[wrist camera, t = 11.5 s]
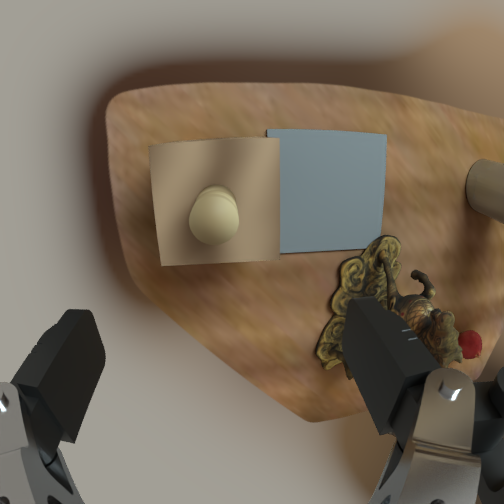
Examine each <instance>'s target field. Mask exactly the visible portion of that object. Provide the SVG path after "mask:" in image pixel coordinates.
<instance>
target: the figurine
mask: <svg viewBox="0 0 504 504" xmlns="http://www.w3.org/2000/svg"><path fill="white" fill-rule="evenodd" d="M400 249H401V244H400V241H399V240H398V239H397V238H396V237H394V236H390V235H383V236H380V237H378V238H376V239H375V240H374V241H373V242H372V243H371V244H370V245H369V246H368V247H367V248H366V250H365V251H364V253H363V254H362V256H355V257H352V258H349V259H346V260H344V261H343V262H342V264H341V266H340V286H339V288H338V289H337V290H336V291H335V293H334V294H333V296H332V299H331V302H330V306H331V309H332V310H333V311H334V313H335V314H334V316H333V317H332V319H331V320H330V321H329V322H328V324H327V325H326V327H325V328H324V330H323V332H322V335H321V337H320V340H319V342H318V344H317V347H316V355H317V356H318V358H319V359H321V360H322V366H323V368H324V369H326V370H329V369H331V368H332V367H333V366H334V365H336V364H339V363H341V362H343V364H344V367H345V371H346V375H347V378H348V380H351V379H352V378H353V375H352V373H351V371H350V369H349V367H348V365H347V362H346V360H345V358H344V355H343V351H342V337H343V331H344V325H345V319H346V312H347V306H348V302H349V300H350V299H352V298H361V297H370V296H374V297H375V298H376V299H377V300H378V301H379V303H380V304H381V305H382V306H383V308H384V309H385V310H391V311H392V312H394V313H395V314H397V315H399V316H400V317H402V318H403V319H404V320H405V322H406V323H407V324H408V325H409V327H410V328H411V330H413V331H414V333H415V334H416V335H417V338H418V339H420V340H421V341H422V343H423V344H424V345H425V347H426V348H427V349H428V350H429V352H430V353H431V354H432V355H433V357H434V358H435V359H436V361H437V362H438V363H439V365H440V366H441V367H442V368H448V365H449V363H450V362H451V361H453V360H455V361H457V362H459V363H462V358H463V354H462V348H461V347H460V346H459V345H458V337H459V333H458V331H457V330H456V329H455V328H454V327H453V325H454V321H455V318H454V315H453V313H452V312H450V311H444V312H441V311H440V309H434V307H433V305H432V304H431V302H430V300H431V299H432V298H433V296H434V295H435V292H436V290H435V288H434V286H433V285H432V284H431V282H430V281H429V279H428V276H427V275H426V274H424V273H422V272H420V271H418V270H414V271H412V273H411V277H412V278H413V279H414V280H417V279H418V280H419V282H421V283H423V284H424V291H423V292H422V293H421V294H420V295H415V294H413V295H407V296H404V297H403V296H401V295H400V294H399V293H398V291H397V288H396V284H395V279H396V278H397V276H398V274H399V272H400V269H401V264H400V263H399V262H396V259H397V257H398V256H399V254H400ZM388 434H392V435H393V436H395V434H394V432H390V433H388ZM395 437H396V436H395Z"/></svg>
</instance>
